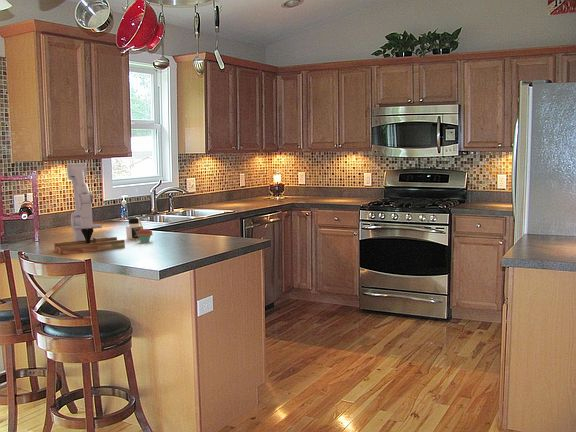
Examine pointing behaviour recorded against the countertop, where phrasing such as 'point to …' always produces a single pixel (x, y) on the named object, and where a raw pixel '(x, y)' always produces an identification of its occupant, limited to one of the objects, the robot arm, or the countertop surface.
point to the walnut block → (100, 239)
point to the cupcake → (144, 234)
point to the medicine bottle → (133, 228)
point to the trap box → (88, 246)
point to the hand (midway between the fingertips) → (88, 243)
